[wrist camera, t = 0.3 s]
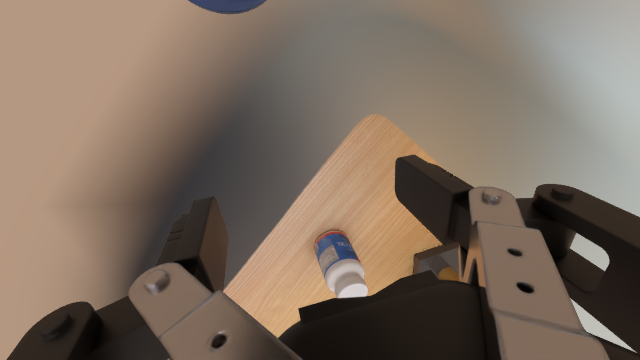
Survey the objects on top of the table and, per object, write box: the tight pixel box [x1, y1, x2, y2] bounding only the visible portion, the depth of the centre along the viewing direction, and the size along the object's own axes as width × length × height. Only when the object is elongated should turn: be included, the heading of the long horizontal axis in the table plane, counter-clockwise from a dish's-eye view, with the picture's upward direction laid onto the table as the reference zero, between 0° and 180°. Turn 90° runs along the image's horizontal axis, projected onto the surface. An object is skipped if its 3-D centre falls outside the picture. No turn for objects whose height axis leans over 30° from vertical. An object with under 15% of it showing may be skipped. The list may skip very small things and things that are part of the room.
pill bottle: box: [315, 230, 368, 298], centre depth 37 cm, size 6×5×10 cm
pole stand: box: [413, 243, 459, 280], centre depth 51 cm, size 12×12×2 cm
